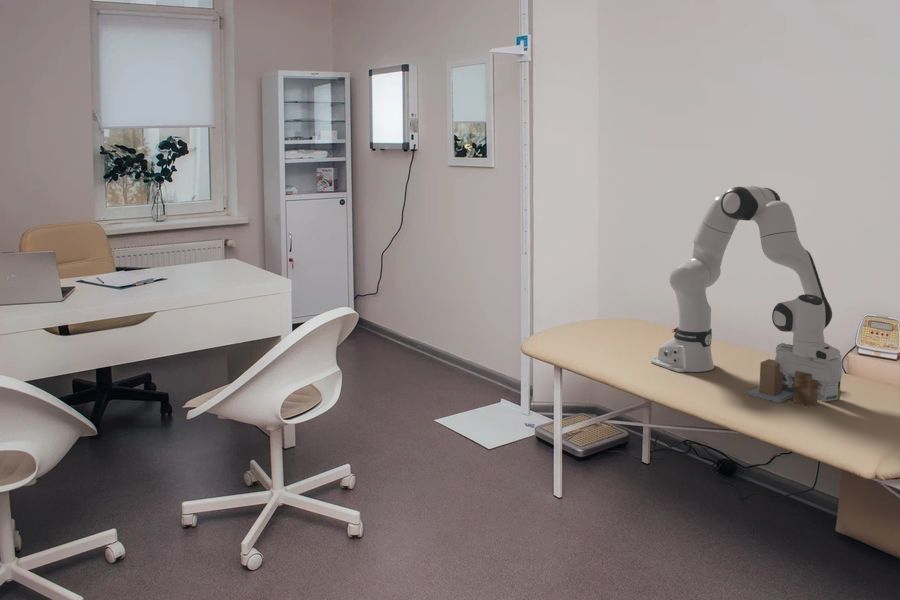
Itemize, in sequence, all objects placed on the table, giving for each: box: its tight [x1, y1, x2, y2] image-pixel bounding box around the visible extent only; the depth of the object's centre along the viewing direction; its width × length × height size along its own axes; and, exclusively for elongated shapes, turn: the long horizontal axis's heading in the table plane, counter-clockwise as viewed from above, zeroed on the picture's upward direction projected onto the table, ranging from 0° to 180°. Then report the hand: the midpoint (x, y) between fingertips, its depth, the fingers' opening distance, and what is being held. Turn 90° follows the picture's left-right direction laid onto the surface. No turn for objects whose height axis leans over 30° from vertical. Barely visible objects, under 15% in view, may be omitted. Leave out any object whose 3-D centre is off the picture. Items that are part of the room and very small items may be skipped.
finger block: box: [793, 371, 818, 406], centre depth 257 cm, size 5×5×10 cm
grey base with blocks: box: [747, 358, 795, 404], centre depth 270 cm, size 11×28×11 cm, turn 129°
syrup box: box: [817, 354, 843, 403], centre depth 259 cm, size 6×6×14 cm
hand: (805, 391), depth 257 cm, fingers open, 8 cm apart
